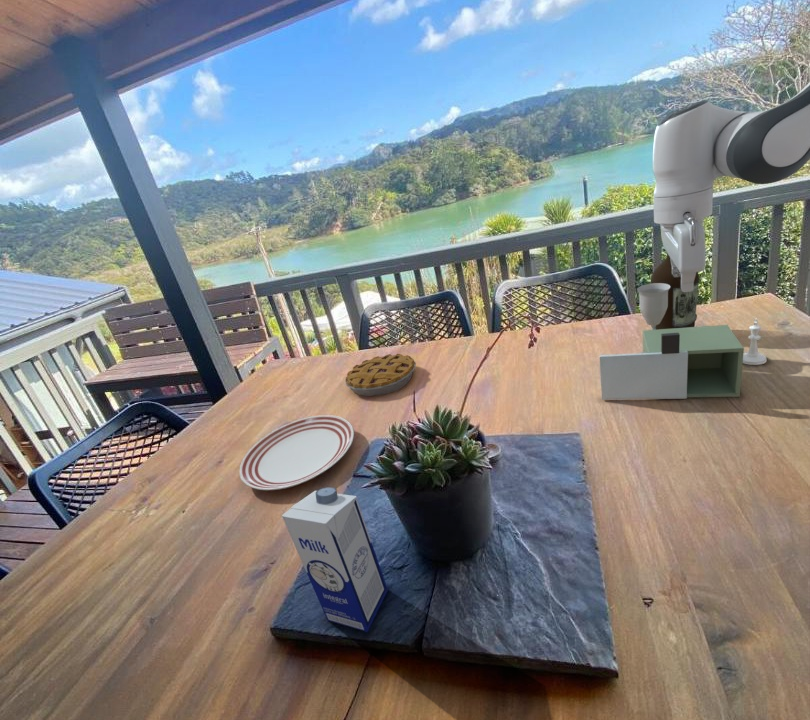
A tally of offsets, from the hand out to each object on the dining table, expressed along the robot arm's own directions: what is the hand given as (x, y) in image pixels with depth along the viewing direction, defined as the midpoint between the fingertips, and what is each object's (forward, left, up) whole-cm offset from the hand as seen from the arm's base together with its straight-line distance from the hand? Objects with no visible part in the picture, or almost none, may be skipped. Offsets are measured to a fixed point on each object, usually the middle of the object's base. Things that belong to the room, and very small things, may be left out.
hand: (682, 283), depth 82 cm
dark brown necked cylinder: (-3, -32, -25) cm, 41 cm away
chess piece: (-16, -15, -25) cm, 33 cm away
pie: (+76, -11, -25) cm, 81 cm away
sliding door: (+7, +2, -24) cm, 25 cm away
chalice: (+3, -19, -25) cm, 32 cm away
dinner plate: (+81, +27, -25) cm, 89 cm away
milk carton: (+49, +59, -25) cm, 80 cm away
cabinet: (-2, -5, -25) cm, 25 cm away
